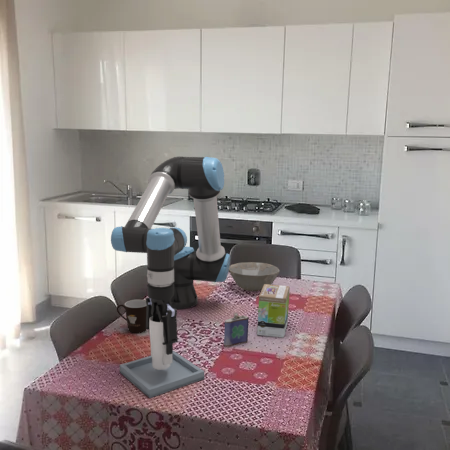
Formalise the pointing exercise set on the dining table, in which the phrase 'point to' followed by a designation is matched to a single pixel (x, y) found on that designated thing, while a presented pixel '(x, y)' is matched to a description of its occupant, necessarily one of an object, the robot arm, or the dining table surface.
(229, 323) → the flask
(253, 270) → the ceramic bowl
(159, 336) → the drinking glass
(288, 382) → the dining table surface
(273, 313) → the tea box
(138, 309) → the coffee mug
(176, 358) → the tray
